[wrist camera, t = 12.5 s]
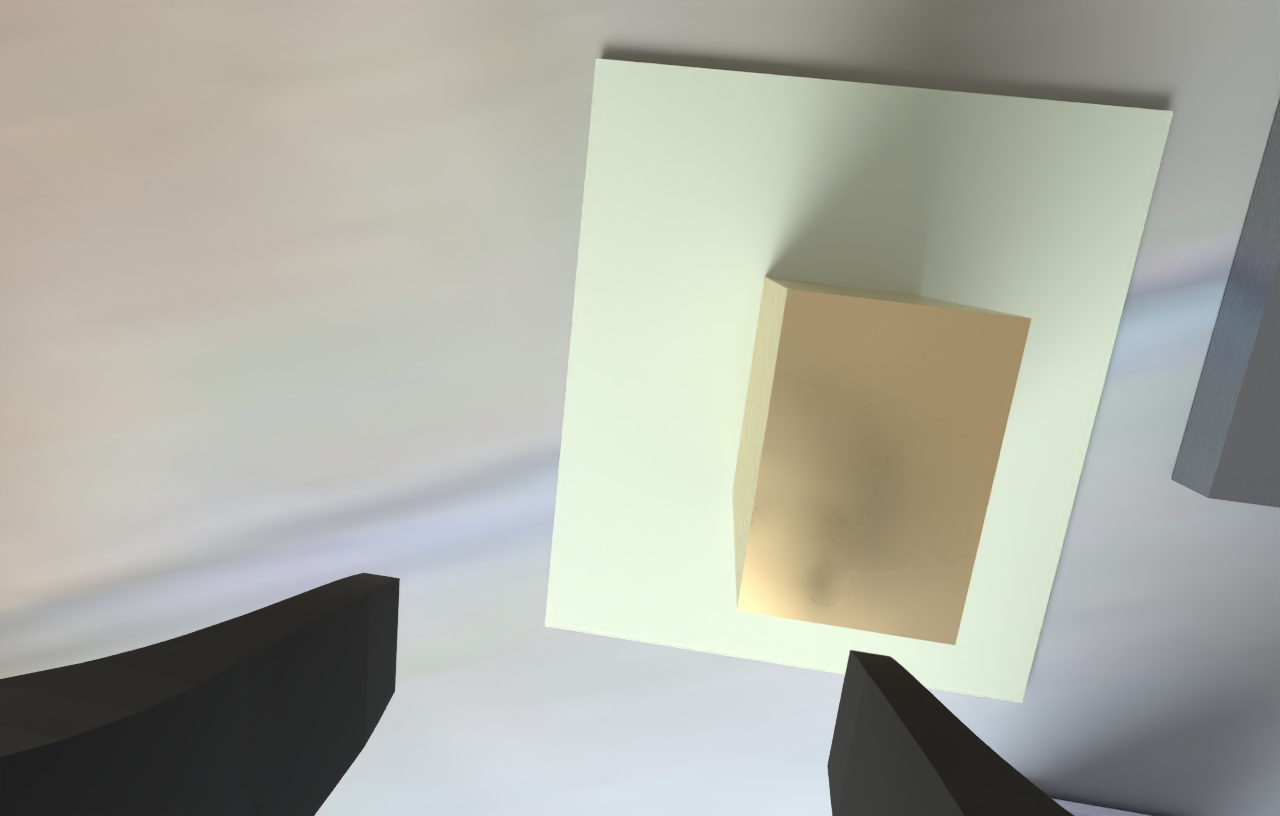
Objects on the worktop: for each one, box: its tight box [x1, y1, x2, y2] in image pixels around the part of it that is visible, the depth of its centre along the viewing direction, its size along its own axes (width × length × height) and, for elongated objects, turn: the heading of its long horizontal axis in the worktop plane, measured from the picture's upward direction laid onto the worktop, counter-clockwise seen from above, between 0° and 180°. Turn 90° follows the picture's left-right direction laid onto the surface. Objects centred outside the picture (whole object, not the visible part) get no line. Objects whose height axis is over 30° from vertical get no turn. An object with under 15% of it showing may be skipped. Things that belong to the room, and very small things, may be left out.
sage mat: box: [545, 58, 1174, 703], centre depth 20 cm, size 16×14×1 cm
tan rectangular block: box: [732, 277, 1031, 645], centre depth 16 cm, size 6×4×7 cm, turn 174°
